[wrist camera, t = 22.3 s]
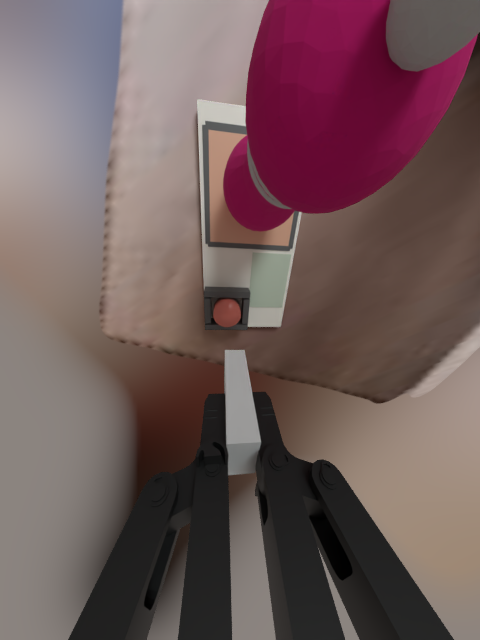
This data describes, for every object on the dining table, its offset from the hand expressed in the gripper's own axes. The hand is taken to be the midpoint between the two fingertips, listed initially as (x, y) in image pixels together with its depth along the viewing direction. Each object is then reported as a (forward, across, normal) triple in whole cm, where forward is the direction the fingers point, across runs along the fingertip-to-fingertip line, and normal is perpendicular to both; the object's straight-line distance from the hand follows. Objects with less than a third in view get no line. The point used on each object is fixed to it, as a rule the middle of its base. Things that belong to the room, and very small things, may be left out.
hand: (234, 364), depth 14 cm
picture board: (+14, +2, +8) cm, 16 cm away
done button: (+12, 0, 0) cm, 12 cm away
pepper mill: (+13, +2, +13) cm, 19 cm away
